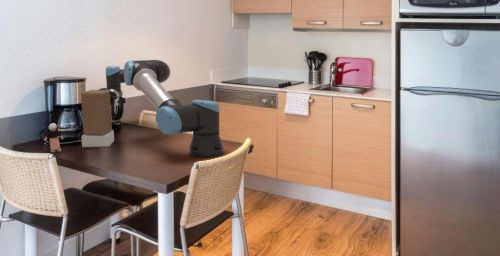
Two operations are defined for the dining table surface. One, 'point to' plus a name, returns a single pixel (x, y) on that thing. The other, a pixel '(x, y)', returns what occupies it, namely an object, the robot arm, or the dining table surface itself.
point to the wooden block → (96, 112)
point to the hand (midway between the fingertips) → (101, 103)
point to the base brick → (98, 140)
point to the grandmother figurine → (53, 138)
